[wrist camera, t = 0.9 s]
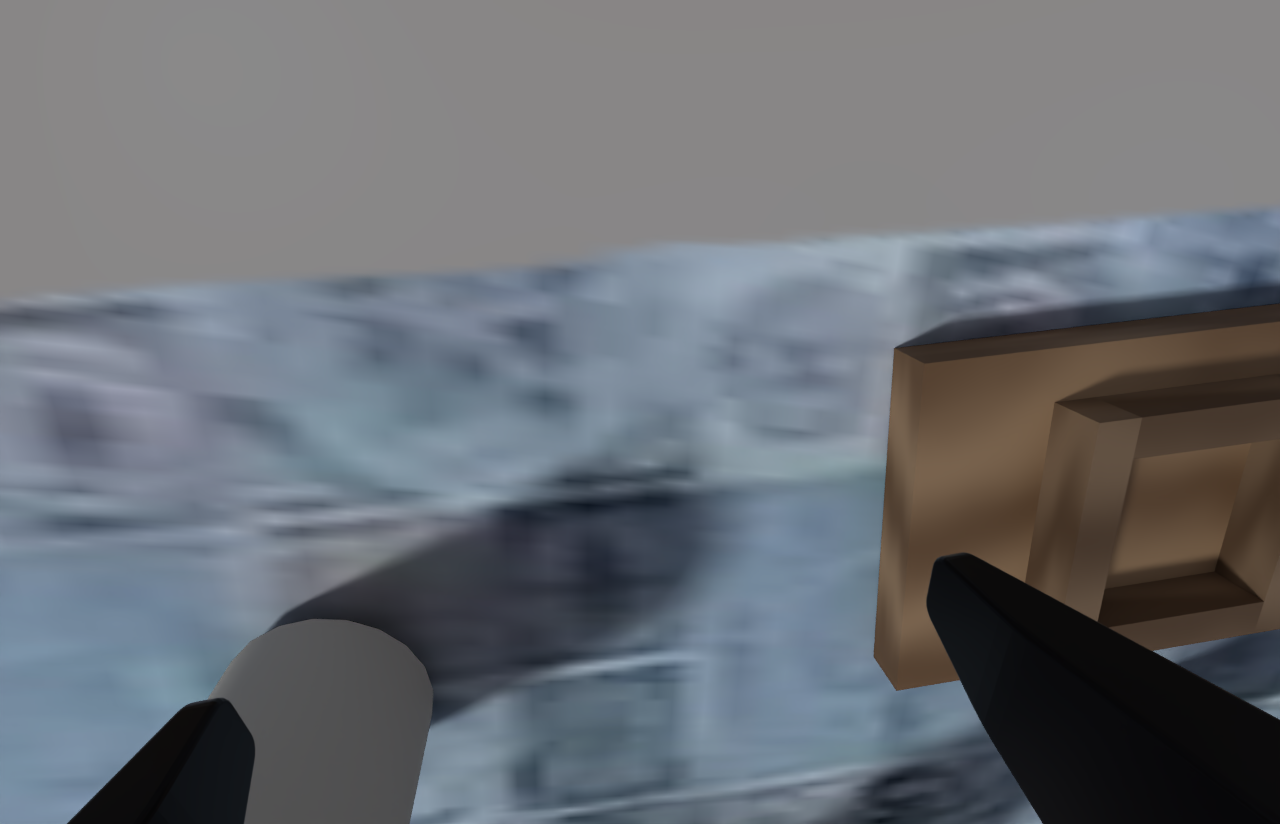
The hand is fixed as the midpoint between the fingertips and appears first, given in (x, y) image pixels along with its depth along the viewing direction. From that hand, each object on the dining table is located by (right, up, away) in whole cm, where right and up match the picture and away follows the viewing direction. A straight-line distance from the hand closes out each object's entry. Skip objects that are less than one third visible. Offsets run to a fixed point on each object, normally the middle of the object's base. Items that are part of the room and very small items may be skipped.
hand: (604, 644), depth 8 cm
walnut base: (+20, 0, +19) cm, 27 cm away
